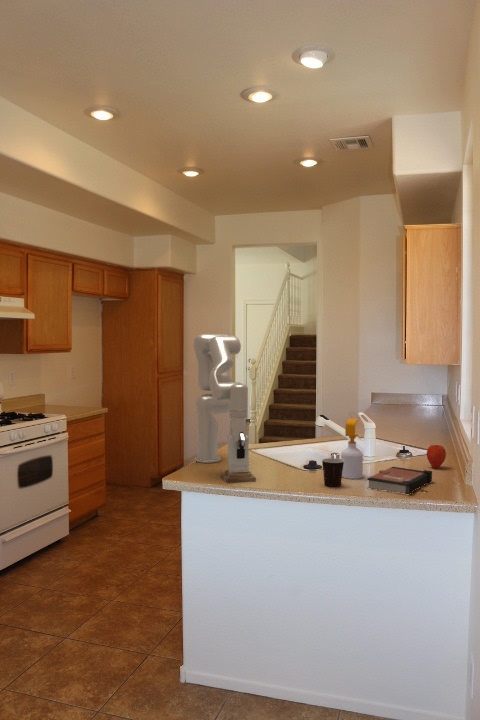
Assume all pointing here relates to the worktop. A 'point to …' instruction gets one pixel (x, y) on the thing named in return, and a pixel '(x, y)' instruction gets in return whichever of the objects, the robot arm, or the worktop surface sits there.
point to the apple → (436, 455)
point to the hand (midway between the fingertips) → (238, 456)
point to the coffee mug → (332, 472)
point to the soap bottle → (352, 454)
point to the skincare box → (233, 462)
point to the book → (399, 479)
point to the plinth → (237, 477)
